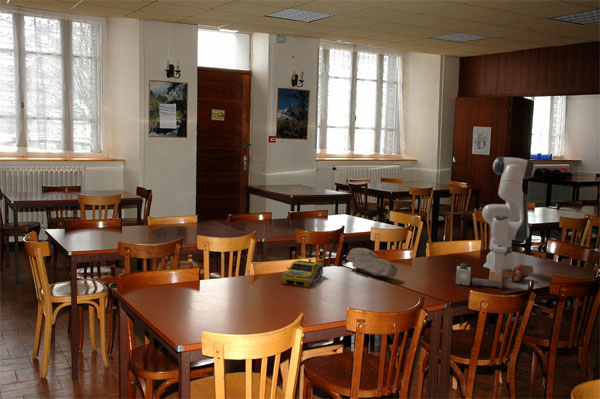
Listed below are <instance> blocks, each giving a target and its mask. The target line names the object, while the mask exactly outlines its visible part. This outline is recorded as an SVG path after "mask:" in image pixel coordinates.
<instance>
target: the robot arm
mask: <svg viewBox="0 0 600 399" xmlns="http://www.w3.org/2000/svg"><path fill="white" fill-rule="evenodd" d="M492 169H493V172H494V173H495V174H496V175H498V176H501V177H500V182H499V186H498V192H497V193H498V197H500V198H501V199H502V200H503V201H505V204H498V203H492V204H486V205H485V206H484V207H483V208H482V210H481V214H482V215H481V216H482V218H483V219H484V221H485V222H487V224H488V225H489V226H490V234H491V237H490V243H489V250H490V252H488V254H487V255H486V258H485V259H486V262H484V264H483V266H482V267H483V268H486V269H489V270H496V275H499V271H503V270H504V269H511V270H512V271H513V269H514V268H515V267H516V266H514V262H515V260H514V259H515V256H514V255H513V254H512V252H513V247H512V241H517V242H521V243H523V242H524V241H526V240H528V239H529V237H530V225H529V212H528V211H529V205H528V204H529V203H528V198H527V194H525V193H524V192H523V179H530V178H532V176H533V174H534V173H535V170H536V169H535V163H534V162H533V160H530V159H524V158H519V157H511V156H509V157H507V156H506V157H505V156H497V157H496V158H495V160H494V161H493V164H492Z"/></svg>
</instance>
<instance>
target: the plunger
mask: <svg viewBox="0 0 600 399" xmlns="http://www.w3.org/2000/svg"><path fill="white" fill-rule="evenodd" d="M460 266H461V267H460V269H466V270H467V267H468V263H460Z"/></svg>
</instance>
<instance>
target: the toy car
mask: <svg viewBox="0 0 600 399" xmlns="http://www.w3.org/2000/svg"><path fill="white" fill-rule="evenodd" d="M296 259H299V260H296V261H293V262H292V263H291V265H290V266H289V267H287V266H286V269H287V270H285V271H283V272H282V275H281V277H280V278H281V284H284V285H293V286H294V285H295V286H300V287H301V286H302V287H310V286H312V285H313V284H314V283H316V282H317V281H318V280H319V279H321V277H322V276H323V273H324V263H323V262H324V260H325V259H324V257H322V258H321V259H316V258H307V257H302V256H301V257H300V254H299V255H297V256H296ZM301 259H304V260H301ZM307 260H308V261H307ZM316 261H320V262H316Z"/></svg>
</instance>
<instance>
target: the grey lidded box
mask: <svg viewBox="0 0 600 399" xmlns="http://www.w3.org/2000/svg"><path fill="white" fill-rule="evenodd" d="M460 267H461V265H460V266H459V265H457V266H456V274H455V284H456V285H460V284H462V285H461V286H470V283H471V282H470V281H471V267H469V266H467V270H466V269H460Z"/></svg>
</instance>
